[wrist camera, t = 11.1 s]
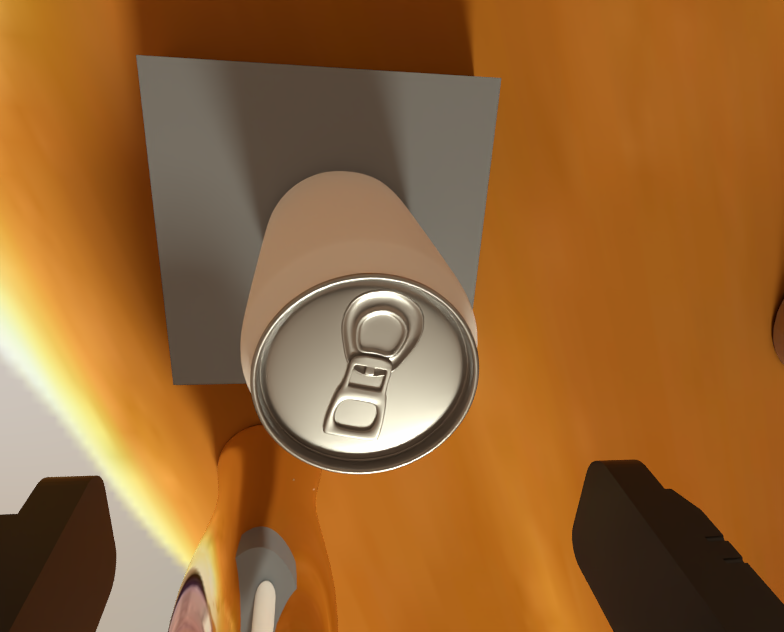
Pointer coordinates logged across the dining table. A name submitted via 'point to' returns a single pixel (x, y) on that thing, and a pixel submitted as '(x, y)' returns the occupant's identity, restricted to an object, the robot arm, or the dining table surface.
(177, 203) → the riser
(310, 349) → the can
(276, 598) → the beer glass
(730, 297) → the dining table surface
